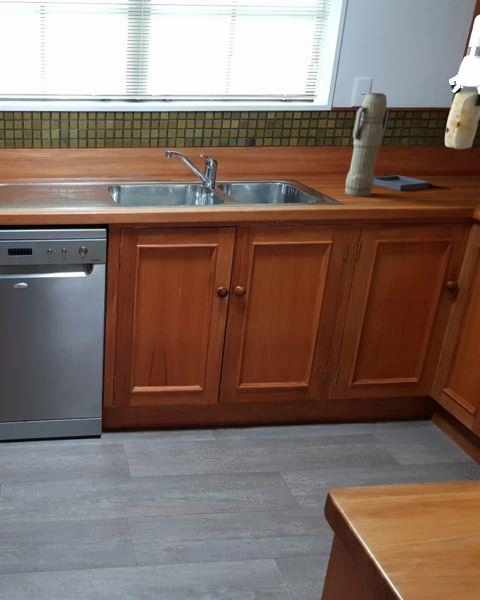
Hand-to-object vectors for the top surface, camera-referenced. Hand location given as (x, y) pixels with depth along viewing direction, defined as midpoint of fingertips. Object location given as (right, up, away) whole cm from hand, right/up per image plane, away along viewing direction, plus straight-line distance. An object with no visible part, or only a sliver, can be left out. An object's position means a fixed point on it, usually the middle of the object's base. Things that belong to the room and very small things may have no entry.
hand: (466, 104), depth 220 cm
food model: (0, -15, +6) cm, 16 cm away
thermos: (-38, -32, +3) cm, 50 cm away
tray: (-16, -26, +17) cm, 35 cm away
